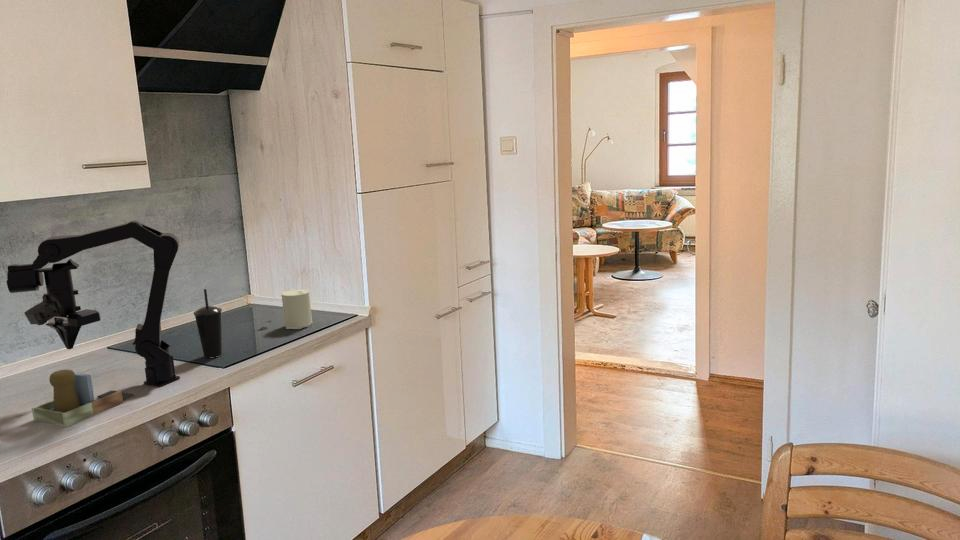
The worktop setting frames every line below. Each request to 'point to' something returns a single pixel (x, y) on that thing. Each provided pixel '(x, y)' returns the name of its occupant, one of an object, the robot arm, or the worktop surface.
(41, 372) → the worktop surface
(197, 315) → the drinking cup
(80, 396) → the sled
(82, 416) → the track
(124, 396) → the pit mat
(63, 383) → the cork
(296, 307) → the can
